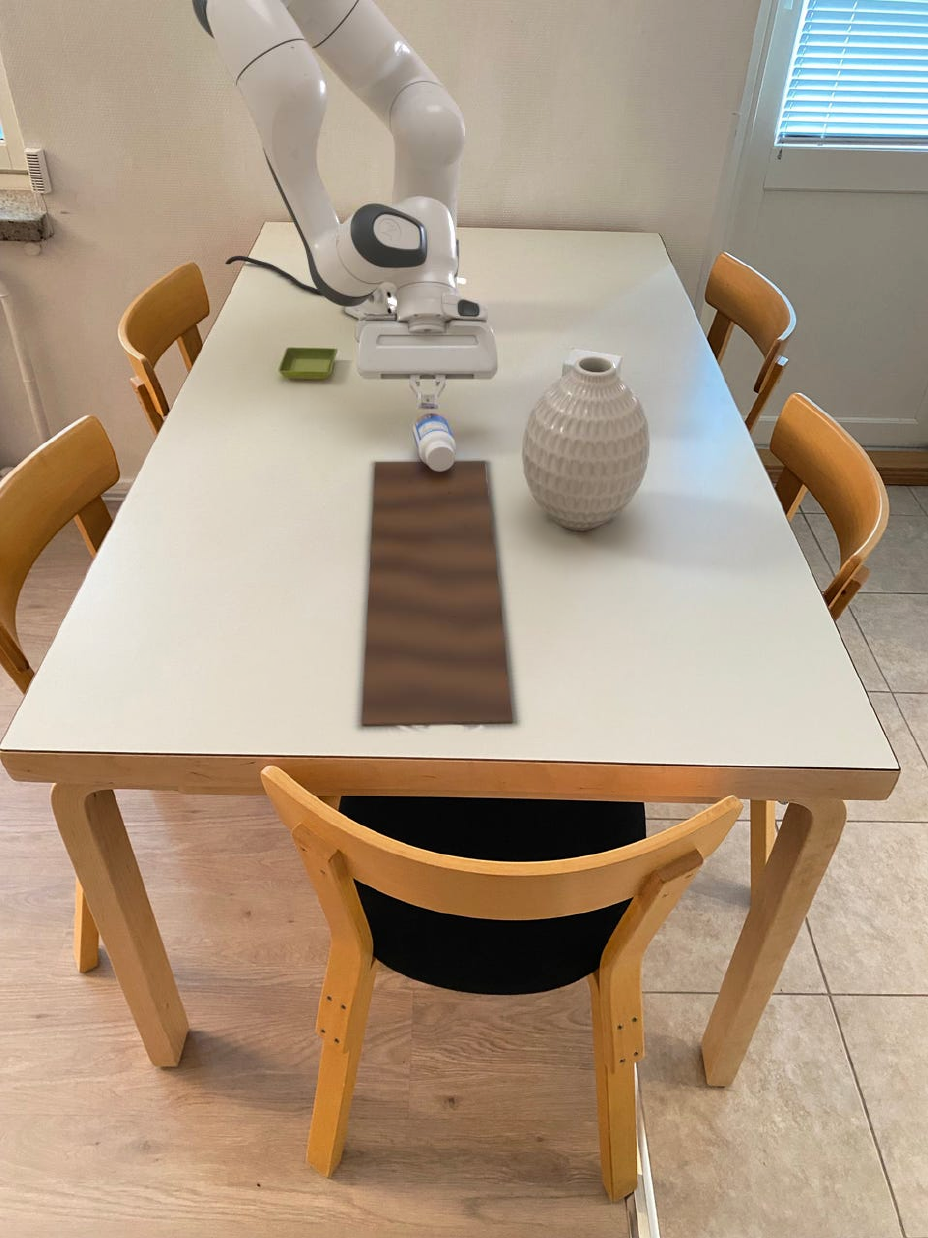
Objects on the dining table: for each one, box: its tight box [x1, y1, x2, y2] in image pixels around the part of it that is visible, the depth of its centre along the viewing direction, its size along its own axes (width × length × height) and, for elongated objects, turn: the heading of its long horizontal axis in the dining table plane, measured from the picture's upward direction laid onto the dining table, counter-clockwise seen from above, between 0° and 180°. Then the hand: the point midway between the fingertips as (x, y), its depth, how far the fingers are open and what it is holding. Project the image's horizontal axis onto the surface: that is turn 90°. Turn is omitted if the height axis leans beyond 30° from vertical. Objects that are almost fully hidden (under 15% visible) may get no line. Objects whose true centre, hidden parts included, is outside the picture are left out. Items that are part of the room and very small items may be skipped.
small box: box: [561, 348, 623, 378], centre depth 147 cm, size 8×6×10 cm
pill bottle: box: [412, 412, 457, 472], centre depth 139 cm, size 6×5×10 cm
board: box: [361, 460, 514, 726], centre depth 121 cm, size 51×16×1 cm, turn 2°
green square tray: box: [277, 346, 338, 380], centre depth 161 cm, size 9×9×2 cm
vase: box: [521, 356, 651, 531], centre depth 124 cm, size 16×16×22 cm
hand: (427, 408), depth 139 cm, fingers closed
